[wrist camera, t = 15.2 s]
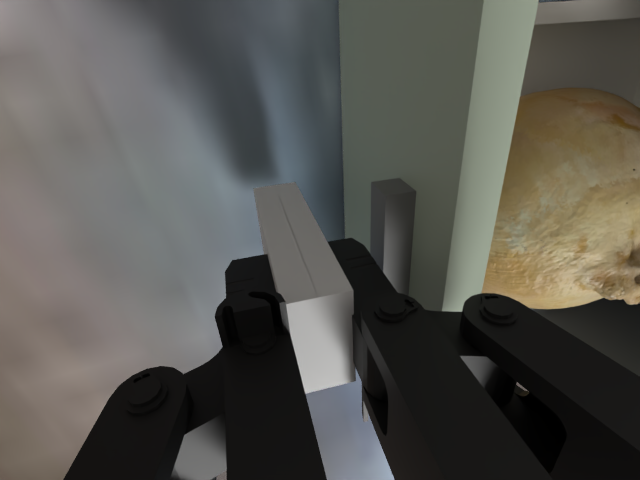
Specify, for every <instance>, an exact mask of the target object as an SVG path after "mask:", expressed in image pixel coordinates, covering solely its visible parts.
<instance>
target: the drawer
mask: <svg viewBox="0 0 640 480" xmlns="http://www.w3.org/2000/svg"><path fill="white" fill-rule="evenodd" d="M538 2H539V0H339V35H340V72H341V108H342V145H343V182H344V219H345V239H347V238H353V239H355V240H356V241H358V242H360V243H362V244H363V245H364V246H365V247H366V248H367V250H368V251H369V253H370V254H371V257H373V258H374V260H375V261H376V263H377V265H379V267H380V268H381V270H382V271H383V273H384V274H385V275H386V277H387V278H388V280H389V281H390V283H391V284H392V285H393V287H394V288H395V290H396V291H397V292H398V293H402V294H405V295H407V296H410V297H412V298H414V299H415V300H416V301H417V302H418V303H420V304H421V305H422V307H423V308H424V309H425V310H431V311H452V312H462V309H463V305H464V302H465V301H466V300H467V299H468V298H470V297H471V296H473V295H477V294H480V293H482V288H483V283H484V278H485V272H486V267H487V262H488V257H489V252H490V247H491V242H492V237H493V232H494V227H495V221H496V216H497V211H498V206H499V201H500V196H501V191H502V186H503V181H504V176H505V171H506V165H507V160H508V155H509V150H510V145H511V140H512V135H513V130H514V125H515V120H516V114H517V109H518V104H519V99H520V96H524V95H527V94H530V93H533V92H540V91H546V90H552V89H559V88H592V89H597V90H602V91H606V92H609V93H612V94H615V95H618V96H620V97H622V98H624V99H626V100H628V101H629V102H630V103H632V104H634V105H635V106H637V107H639V108H640V0H575V1H558V2H541V3H538Z"/></svg>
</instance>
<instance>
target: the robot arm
mask: <svg viewBox="0 0 640 480" xmlns="http://www.w3.org/2000/svg"><path fill="white" fill-rule="evenodd" d="M253 189H254V196H255V202H256V208H257V214H258V220H259V226H260V232H261V238H262V244H263V250H264V255H259V256H253V257H248V258H242V259H237V260H232V262H231V263H230V265H229V266H228V268H227V270H226V271H225V280H226V299H224V301H223V302H222V303H221V304H220V305H219V306H218V307H217V311H216V314H215V319H216V323H217V327H218V330H219V334H220V338H221V342H222V345H223V348H222V349H221V350H220V351H219V353H218V354H217V355H216V356H214V357H213V358H212V359H211V360H210V361H208V362H206V363H205V364H203V365H201V366H200V367H197V368H195V369H193V370H191V371H189V372H187V373H185V374H183V373H181V372H180V371H178V370H176V369H175V368H172V367H164V366H159V367H154V368H149V369H146V370H143V371H141V372H139V373H137V374H135V375H133V376H131V377H130V378H129V379H127V380H126V381H125V382H123V383H122V384H121V385H119V387H118V388H117V389H116V390H115V392H114V393H113V394H112V395H111V397H110V398H109V400H108V402H107V403H106V405H105V407H104V409H103V410H102V412H101V414H100V416H99V417H98V419H97V421H96V423H95V425H94V426H93V428H92V430H91V432H90V433H89V435H88V437H87V439H86V440H85V442H84V444H83V446H82V448H81V449H80V451H79V453H78V455H77V456H76V458H75V460H74V462H73V463H72V465H71V467H70V469H69V471H68V472H67V474H66V476H65V478H64V479H63V480H216V476H218V475H219V474H221V473H222V472H224V471H225V470H227V480H327V479H326V475H325V471H324V467H323V463H322V459H321V455H320V451H319V447H318V443H317V439H316V435H315V431H314V427H313V423H312V419H311V415H310V411H309V407H308V403H307V399H306V395H305V394H306V393H310V392H314V391H318V390H322V389H326V388H330V387H334V386H338V385H342V384H346V383H350V382H354V381H356V375H355V367H356V369H357V372H358V374H359V376H360V379H361V381H362V415H363V421H364V422H366V421H368V414H369V416H370V419H371V421H372V424H373V426H374V429H375V431H376V434H377V436H378V439H379V441H380V444H381V446H382V449H383V451H384V454H385V456H386V459H387V461H388V464H389V466H390V469H391V471H392V474H393V476H394V479H395V480H640V376H638V375H636V374H635V373H633V372H632V371H630V370H628V369H627V368H625V367H623V366H622V365H620V364H619V363H617V362H615V361H614V360H612V359H611V358H609V357H607V356H606V355H604V354H603V353H601V352H599V351H598V350H596V349H594V348H593V347H591V346H590V345H588V344H586V343H585V342H583V341H582V340H580V339H578V338H577V337H575V336H574V335H572V334H570V333H569V332H567V331H566V330H564V329H562V328H561V327H559V326H557V325H556V324H554V323H553V322H551V321H549V320H548V319H546V318H545V317H543V316H541V315H540V314H538V313H537V312H535V311H533V310H532V309H530V308H528V307H527V306H525V305H524V304H522V303H520V302H519V301H516V300H514V299H512V298H510V297H508V296H504V295H500V294H496V293H480V294H477V295H473V296H471V297H470V298H468V299H467V300H466V301H465V302H464V305H463V309H462V312H452V311H431V310H425V309H424V308H423V307H422V305H421V304H420V303H418V302H417V301H416V300H415V299H414V298H412V297H410V296H407V295H405V294H402V293H398V292H397V291H396V290H395V288H394V287H393V285H392V284H391V283H390V281H389V280H388V278H387V277H386V275H385V274H384V273H383V271H382V270H381V268H380V267H379V265H377V263H376V261H375V260H374V258H373V257H371V254H370V253H369V251H368V250H367V248H366V247H365V246H364V245H363V244H362V243H360V242H358V241H356V240H355V239H353V238H347V239H341V240H336V241H330V242H327V240H326V238H325V237H324V235H323V233H322V231H321V229H320V227H319V225H318V224H317V222H316V220H315V218H314V216H313V214H312V212H311V210H310V209H309V207H308V205H307V203H306V201H305V199H304V197H303V196H302V194H301V192H300V190H299V188H298V186H297V184H296V182H292V183H286V184H279V185H272V186H265V187H258V188H253ZM517 382H518V383H519V384H521V385H522V386H523V387H524V388H525V389H527V390H528V391H529V392H528V391H524V390H523V389H521V388H520V387H518V386H517V385H516V383H517Z"/></svg>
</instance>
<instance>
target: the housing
mask: <svg viewBox="0 0 640 480" xmlns="http://www.w3.org/2000/svg"><path fill="white" fill-rule="evenodd" d="M530 309H532V310H533V311H535V312H537V313H538V314H540V315H541V316H543V317H545V318H546V319H548V320H549V321H551V322H553V323H554V324H556V325H557V326H559V327H561V328H562V329H564V330H566V331H567V332H569V333H570V334H572V335H574V336H575V337H577V338H578V339H580V340H582V341H583V342H585V343H586V344H588V345H590V346H591V347H593V348H594V349H596V350H598V351H599V352H601V353H603V354H604V355H606V356H607V357H609V358H611V359H612V360H614V361H615V362H617V363H619V364H620V365H622V366H623V367H625V368H627V369H628V370H630V371H632V372H633V373H635V374H636V375H638V376H640V303H638V304H633V305H629V304H627V303H626V302H625V300H624V299H622V300H619V299H614V300H608V299H605V298H601V299H599V300H596V301H593V302H590V303H587V304H583V305H579V306H574V307H568V308H560V309H534V308H530Z"/></svg>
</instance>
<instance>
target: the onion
mask: <svg viewBox="0 0 640 480" xmlns="http://www.w3.org/2000/svg"><path fill="white" fill-rule="evenodd" d="M482 293H496V294H500V295H504V296H508V297H510V298H512V299H514V300H516V301H519V302H520V303H522V304H524V305H525V306H527V307H528V308H534V309H560V308H568V307H574V306H579V305H583V304H587V303H590V302H593V301H596V300H599V299H601V298H605V299H608V300H614V299H619V300H622V299H624V300H625V302H626V303H627V304H629V305H633V304H638V303H640V108H639V107H637V106H635V105H634V104H632V103H630V102H629V101H628V100H626V99H624V98H622V97H620V96H618V95H615V94H612V93H609V92H606V91H602V90H597V89H592V88H559V89H552V90H546V91H540V92H533V93H530V94H527V95H524V96H520V99H519V104H518V109H517V114H516V120H515V125H514V130H513V135H512V140H511V145H510V150H509V155H508V160H507V165H506V171H505V176H504V181H503V186H502V191H501V196H500V201H499V206H498V211H497V216H496V221H495V227H494V232H493V237H492V242H491V247H490V252H489V257H488V262H487V267H486V272H485V278H484V283H483V288H482Z"/></svg>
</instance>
